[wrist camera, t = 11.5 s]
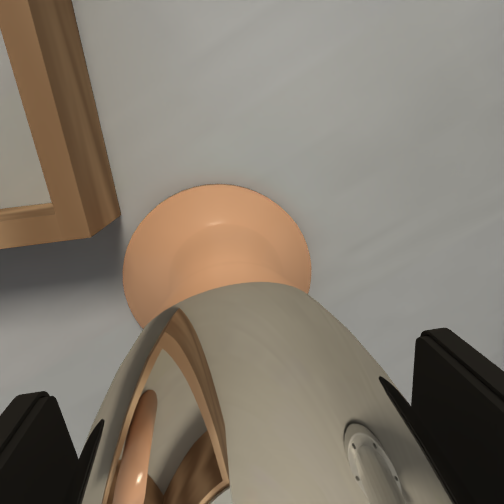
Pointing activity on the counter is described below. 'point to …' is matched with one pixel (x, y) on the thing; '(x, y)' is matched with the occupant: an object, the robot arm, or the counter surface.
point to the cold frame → (57, 126)
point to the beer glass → (254, 399)
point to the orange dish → (198, 217)
